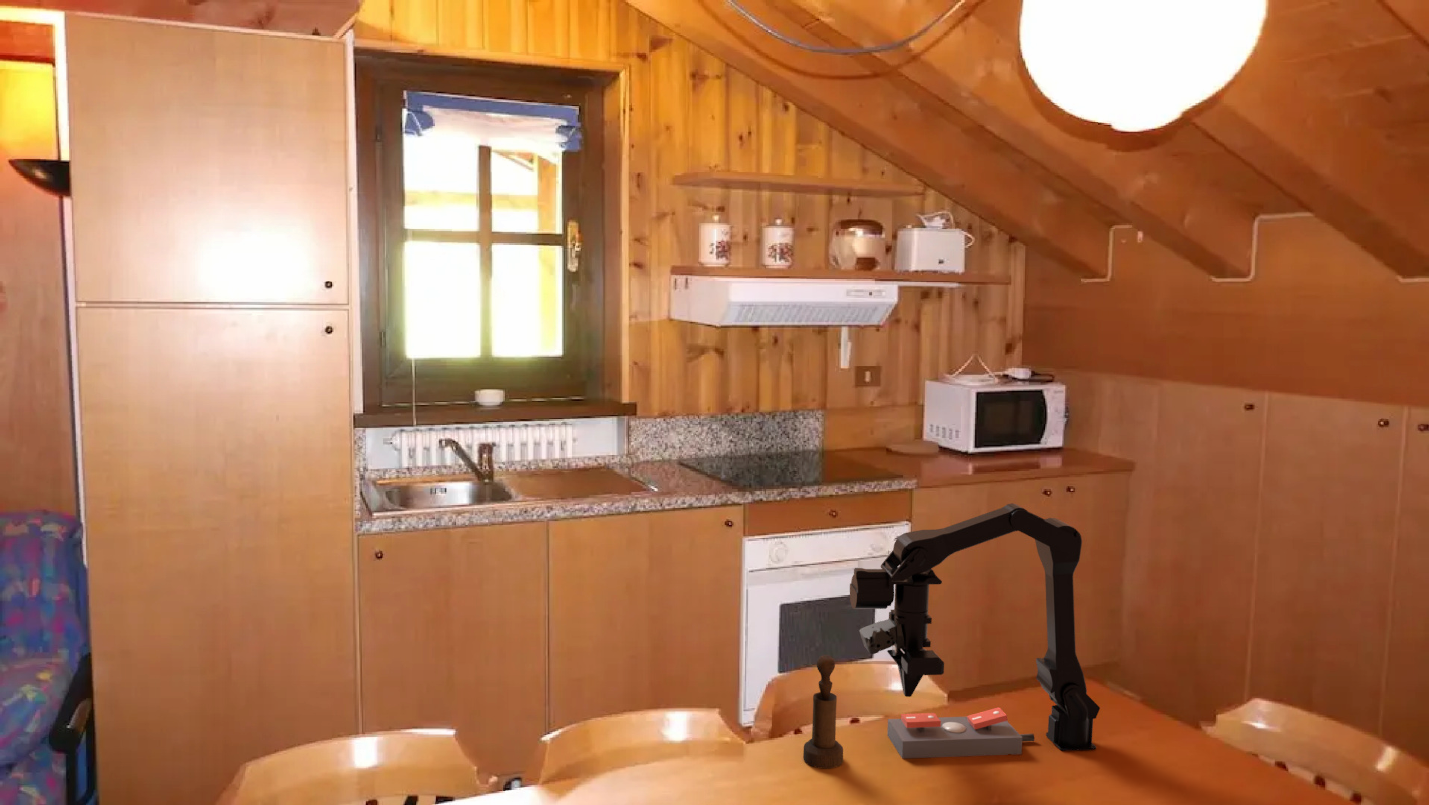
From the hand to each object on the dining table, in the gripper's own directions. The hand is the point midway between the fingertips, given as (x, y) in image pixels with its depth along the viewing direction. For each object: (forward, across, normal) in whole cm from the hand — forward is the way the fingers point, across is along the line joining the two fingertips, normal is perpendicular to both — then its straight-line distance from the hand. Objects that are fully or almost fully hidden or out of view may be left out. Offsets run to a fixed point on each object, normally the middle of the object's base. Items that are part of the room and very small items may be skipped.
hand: (907, 696), depth 175 cm
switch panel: (+9, 0, +11) cm, 14 cm away
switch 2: (+5, 0, +14) cm, 15 cm away
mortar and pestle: (+9, +4, -15) cm, 18 cm away
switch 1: (+5, 0, +3) cm, 5 cm away
